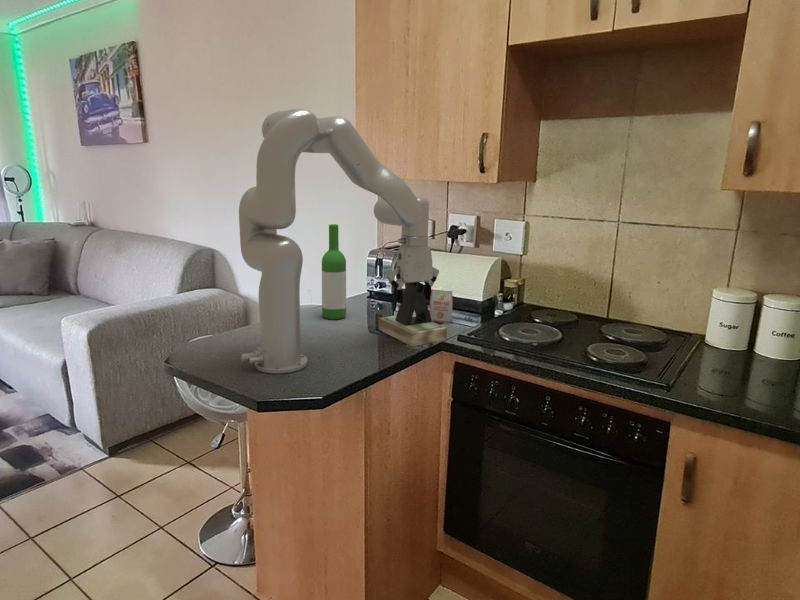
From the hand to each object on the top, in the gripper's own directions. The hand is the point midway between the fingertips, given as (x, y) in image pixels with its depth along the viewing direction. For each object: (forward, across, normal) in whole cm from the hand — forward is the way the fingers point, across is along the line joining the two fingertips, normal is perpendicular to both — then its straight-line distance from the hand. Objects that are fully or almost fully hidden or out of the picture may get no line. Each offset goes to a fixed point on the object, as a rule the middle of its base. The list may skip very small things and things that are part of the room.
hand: (412, 300), depth 154 cm
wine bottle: (+10, -12, +28) cm, 32 cm away
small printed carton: (+11, +17, +9) cm, 22 cm away
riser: (+10, 0, 0) cm, 10 cm away
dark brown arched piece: (+6, 0, 0) cm, 7 cm away
